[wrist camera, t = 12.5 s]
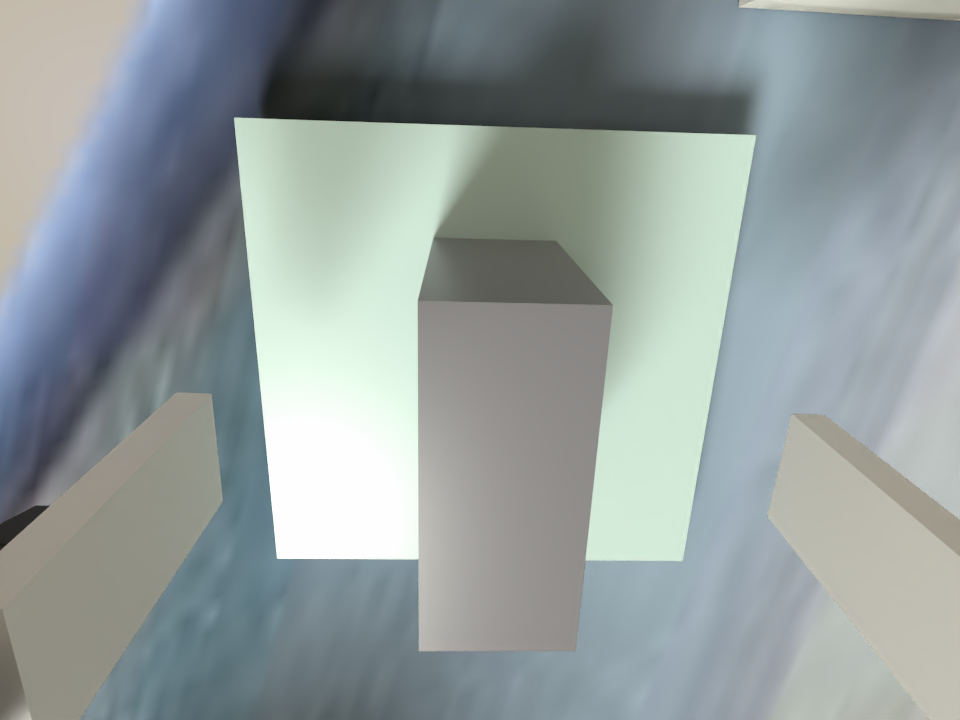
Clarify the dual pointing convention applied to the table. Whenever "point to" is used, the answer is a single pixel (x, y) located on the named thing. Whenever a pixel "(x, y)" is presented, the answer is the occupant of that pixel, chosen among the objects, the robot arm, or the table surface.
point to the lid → (487, 352)
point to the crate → (867, 7)
